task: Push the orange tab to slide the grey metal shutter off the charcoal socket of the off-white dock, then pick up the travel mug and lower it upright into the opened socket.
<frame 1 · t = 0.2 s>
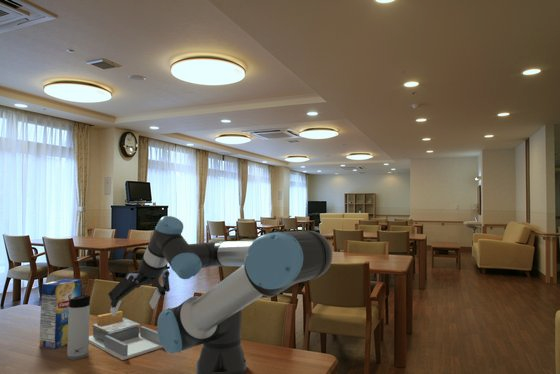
hand: (132, 309, 127), 16 cm above the table, tool tilted 35°, fingers open, 13 cm apart
dock: (115, 339, 143), on the table
blue food box: (59, 343, 139), on the table
travel mug: (78, 356, 127), on the table
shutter: (116, 321, 144), point 7 cm above the table, slide at 0.0 cm
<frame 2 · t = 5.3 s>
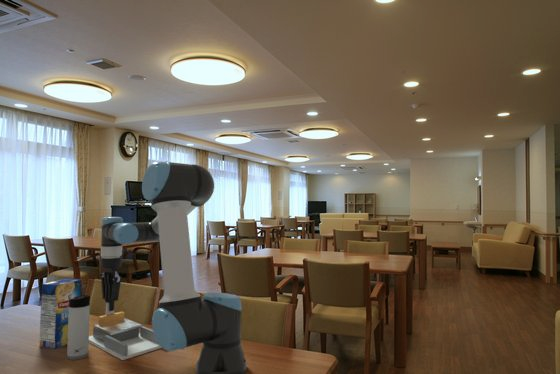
hand: (109, 318, 147), 7 cm above the table, tool pointing down, fingers closed
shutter: (118, 322, 143), point 7 cm above the table, slide at 1.4 cm, touching gripper
everything else where it was.
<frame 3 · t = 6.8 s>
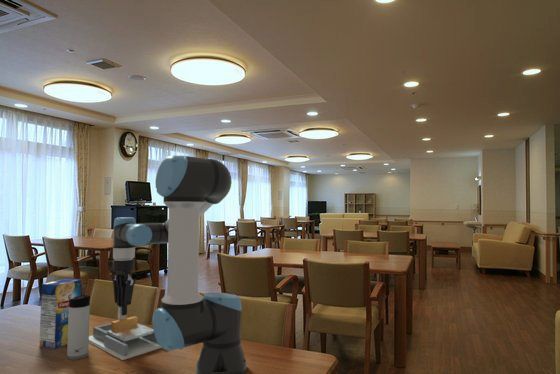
hand: (122, 323, 141), 7 cm above the table, tool pointing down, fingers closed
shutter: (131, 327, 136), point 7 cm above the table, slide at 11.0 cm, touching gripper
everything else where it was.
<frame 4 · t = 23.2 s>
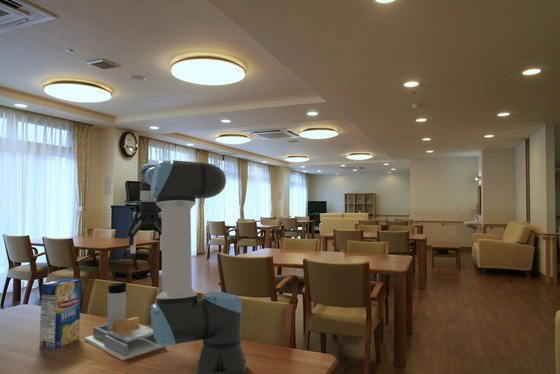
hand: (148, 251, 161), 31 cm above the table, tool pointing down, fingers open, 13 cm apart
travel mug: (116, 337, 143), point 1 cm above the table, touching dock
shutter: (133, 328, 136), point 7 cm above the table, slide at 12.2 cm
everything else where it was.
at the end: travel mug 0.1 cm off-centre on the dock, point 0.8 cm above the dock's base; travel mug tilted 0°; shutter slide at 12.2 cm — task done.
